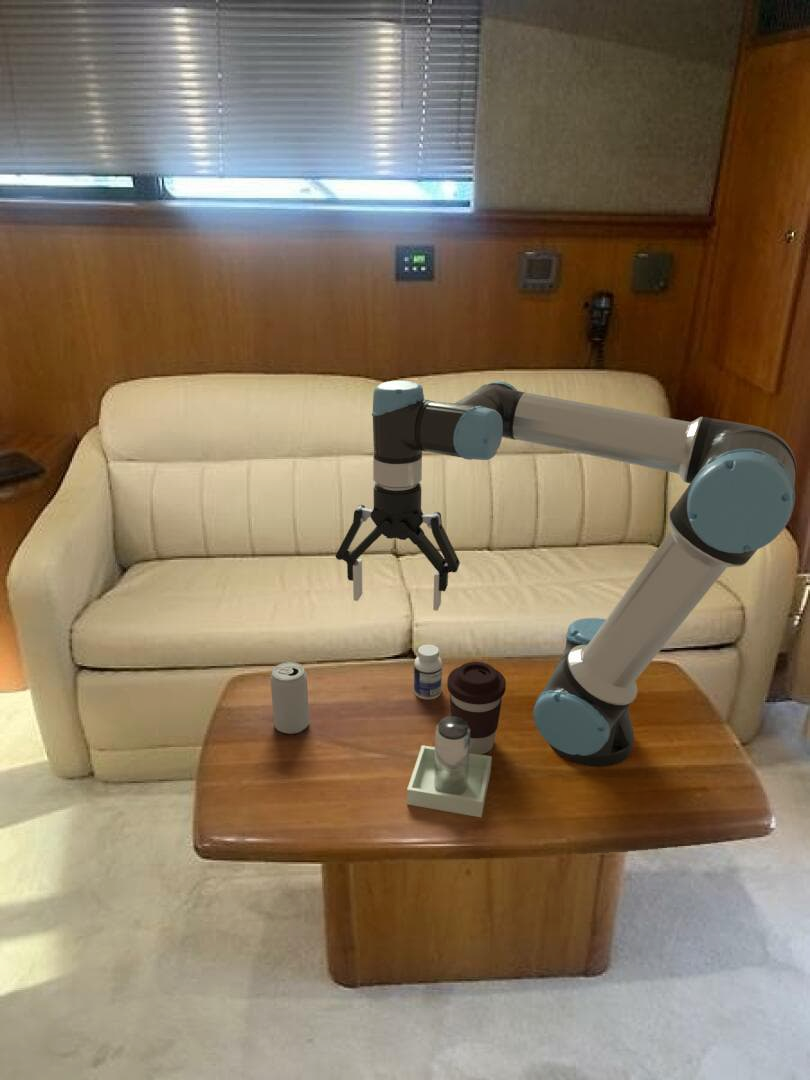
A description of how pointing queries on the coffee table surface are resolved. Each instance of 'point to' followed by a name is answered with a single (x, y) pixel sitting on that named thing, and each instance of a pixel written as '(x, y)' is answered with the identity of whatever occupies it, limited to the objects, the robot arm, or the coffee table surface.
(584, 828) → the coffee table surface
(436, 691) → the pill bottle
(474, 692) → the coffee cup
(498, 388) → the robot arm
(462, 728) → the shaker
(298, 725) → the beverage can
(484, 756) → the tray
